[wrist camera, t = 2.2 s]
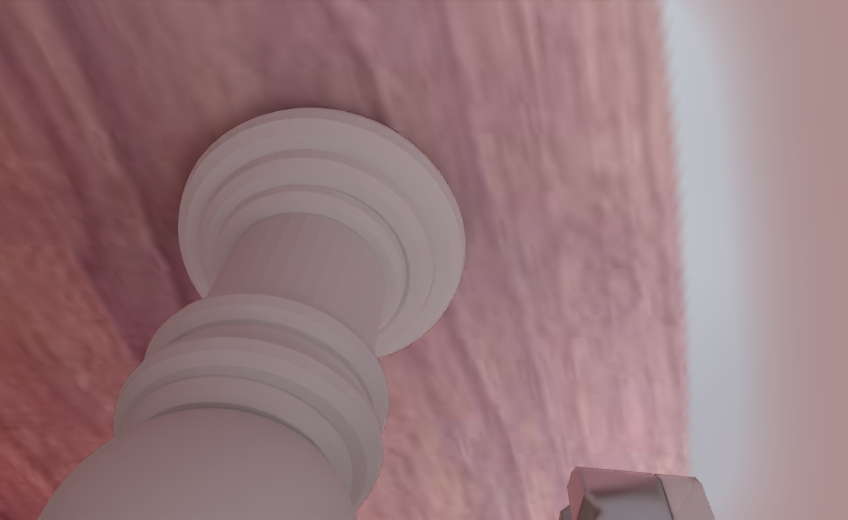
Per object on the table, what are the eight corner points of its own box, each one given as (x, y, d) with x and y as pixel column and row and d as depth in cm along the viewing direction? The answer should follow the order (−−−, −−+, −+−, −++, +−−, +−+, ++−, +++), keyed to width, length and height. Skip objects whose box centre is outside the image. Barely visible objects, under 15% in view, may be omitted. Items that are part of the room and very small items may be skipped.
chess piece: (154, 109, 12) (-359, 562, 5) (455, 87, 12) (439, 553, 4) (225, 347, 15) (-23, 880, 7) (473, 337, 15) (482, 895, 7)
